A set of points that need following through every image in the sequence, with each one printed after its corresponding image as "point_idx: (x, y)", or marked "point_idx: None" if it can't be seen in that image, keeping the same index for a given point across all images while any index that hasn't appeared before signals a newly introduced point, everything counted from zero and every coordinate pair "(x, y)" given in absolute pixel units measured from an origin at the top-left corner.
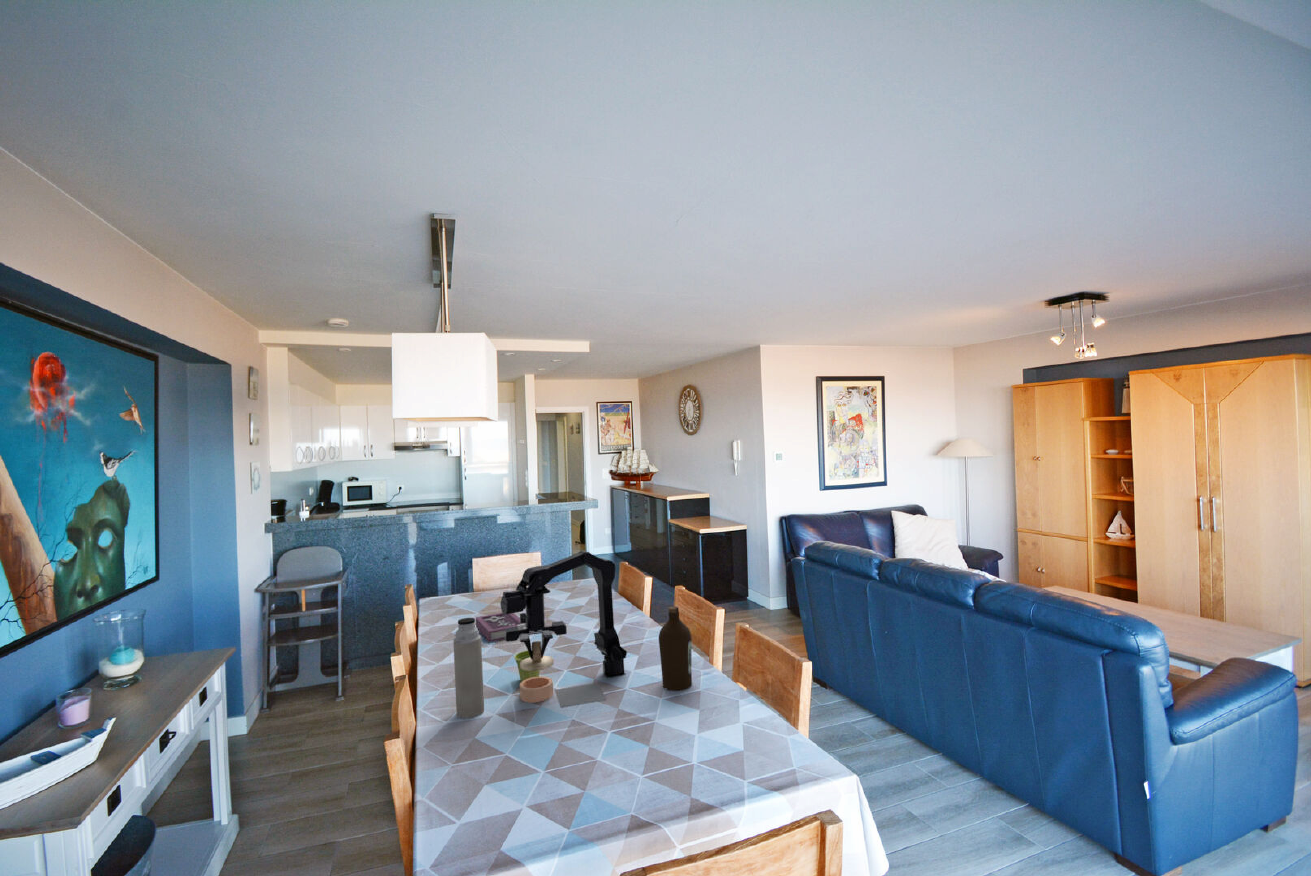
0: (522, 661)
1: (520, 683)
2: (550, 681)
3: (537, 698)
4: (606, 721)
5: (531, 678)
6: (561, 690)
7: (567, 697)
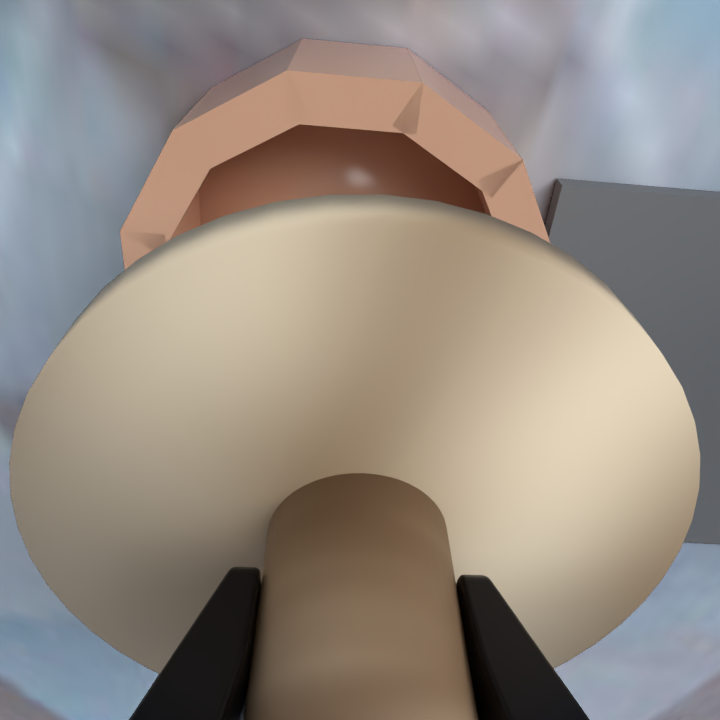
0: (52, 424)
1: (130, 225)
2: None
3: None
4: (637, 700)
5: (298, 110)
6: (612, 238)
7: None
